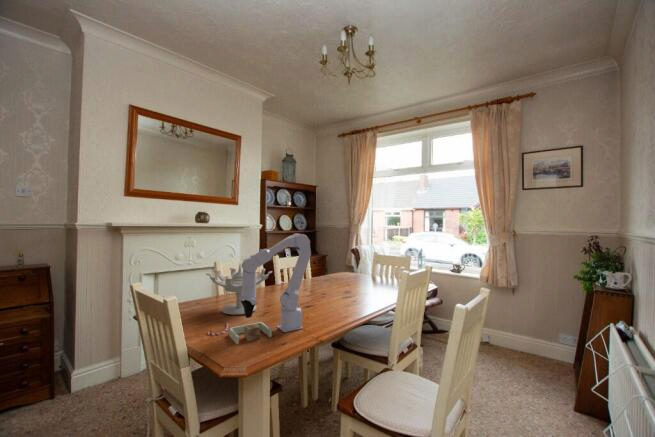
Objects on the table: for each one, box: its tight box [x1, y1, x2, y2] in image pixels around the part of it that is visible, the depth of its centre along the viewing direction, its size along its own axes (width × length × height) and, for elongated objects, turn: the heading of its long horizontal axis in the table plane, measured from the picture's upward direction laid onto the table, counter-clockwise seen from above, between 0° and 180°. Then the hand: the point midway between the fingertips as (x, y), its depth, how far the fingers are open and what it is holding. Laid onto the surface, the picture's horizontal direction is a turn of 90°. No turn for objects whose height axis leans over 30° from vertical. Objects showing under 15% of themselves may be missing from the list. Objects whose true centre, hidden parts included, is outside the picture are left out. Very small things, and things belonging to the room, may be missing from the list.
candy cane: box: [206, 322, 230, 337], centre depth 134 cm, size 8×1×15 cm
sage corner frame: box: [228, 321, 273, 345], centre depth 127 cm, size 15×12×3 cm
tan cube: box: [243, 323, 261, 342], centre depth 124 cm, size 5×5×5 cm
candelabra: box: [205, 263, 273, 316], centre depth 162 cm, size 34×35×27 cm
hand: (248, 317), depth 129 cm, fingers closed
